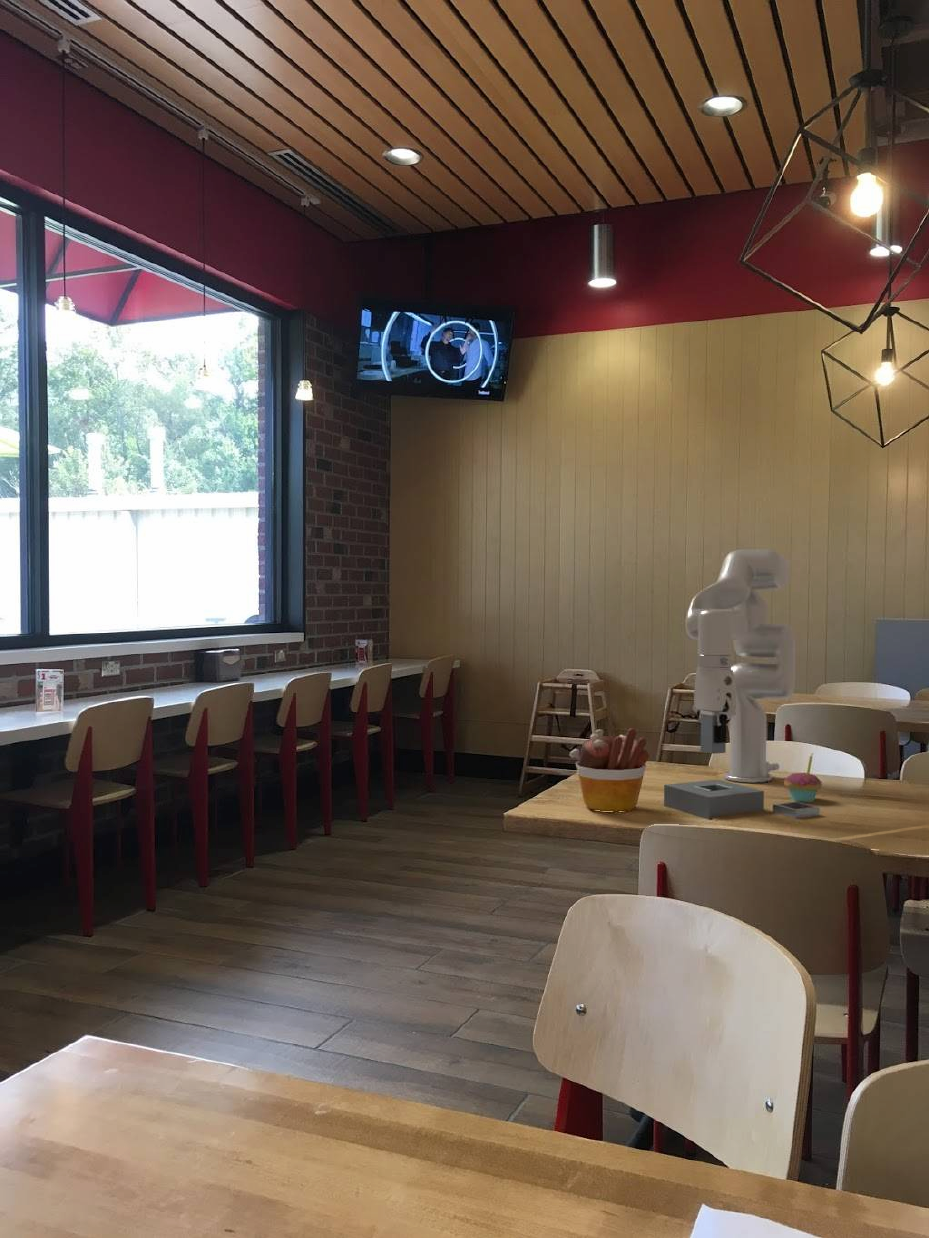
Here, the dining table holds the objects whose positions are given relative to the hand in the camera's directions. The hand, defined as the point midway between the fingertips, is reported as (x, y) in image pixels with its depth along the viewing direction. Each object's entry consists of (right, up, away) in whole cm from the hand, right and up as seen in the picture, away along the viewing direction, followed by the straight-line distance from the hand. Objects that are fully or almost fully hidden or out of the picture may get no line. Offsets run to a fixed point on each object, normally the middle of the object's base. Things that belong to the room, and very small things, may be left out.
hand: (713, 740), depth 232 cm
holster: (+17, -16, -6) cm, 25 cm away
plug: (0, -3, 0) cm, 3 cm away
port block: (0, -16, +1) cm, 16 cm away
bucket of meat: (-24, -16, +1) cm, 29 cm away
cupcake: (+24, -16, +9) cm, 30 cm away
